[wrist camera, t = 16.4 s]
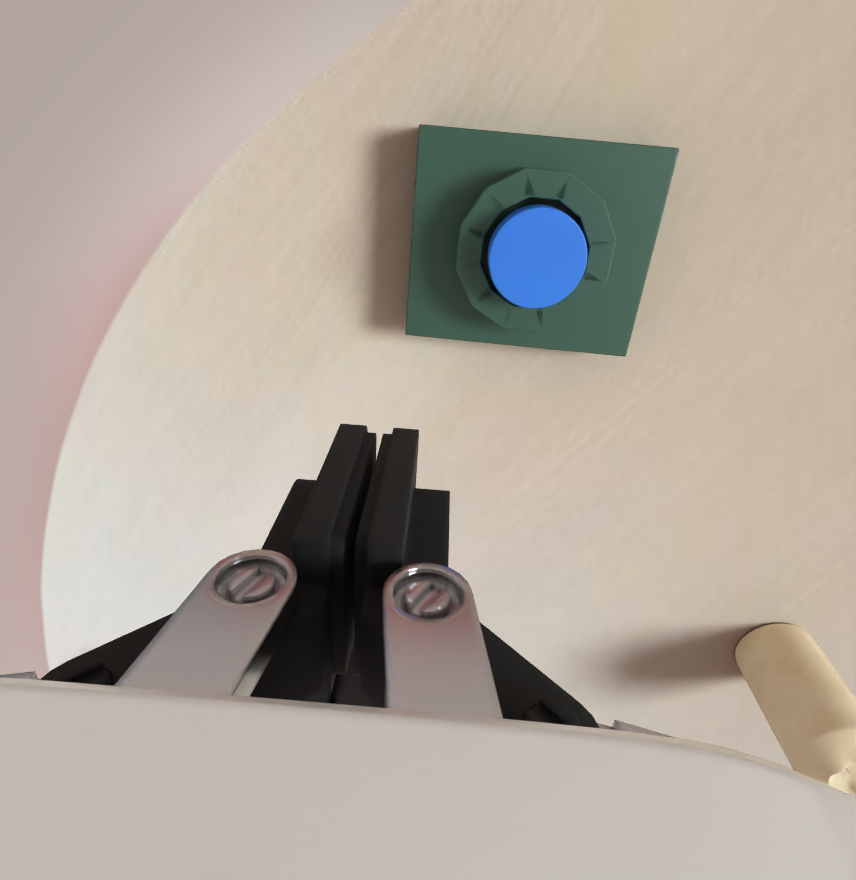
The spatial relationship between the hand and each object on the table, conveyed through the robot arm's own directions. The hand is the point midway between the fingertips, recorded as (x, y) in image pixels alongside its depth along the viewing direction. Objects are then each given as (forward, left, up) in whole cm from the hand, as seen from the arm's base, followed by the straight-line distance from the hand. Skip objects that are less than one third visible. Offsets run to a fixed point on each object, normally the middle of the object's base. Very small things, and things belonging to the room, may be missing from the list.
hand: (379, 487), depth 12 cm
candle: (+28, -24, -21) cm, 43 cm away
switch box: (+5, +3, -21) cm, 22 cm away
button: (+5, +3, -18) cm, 18 cm away
